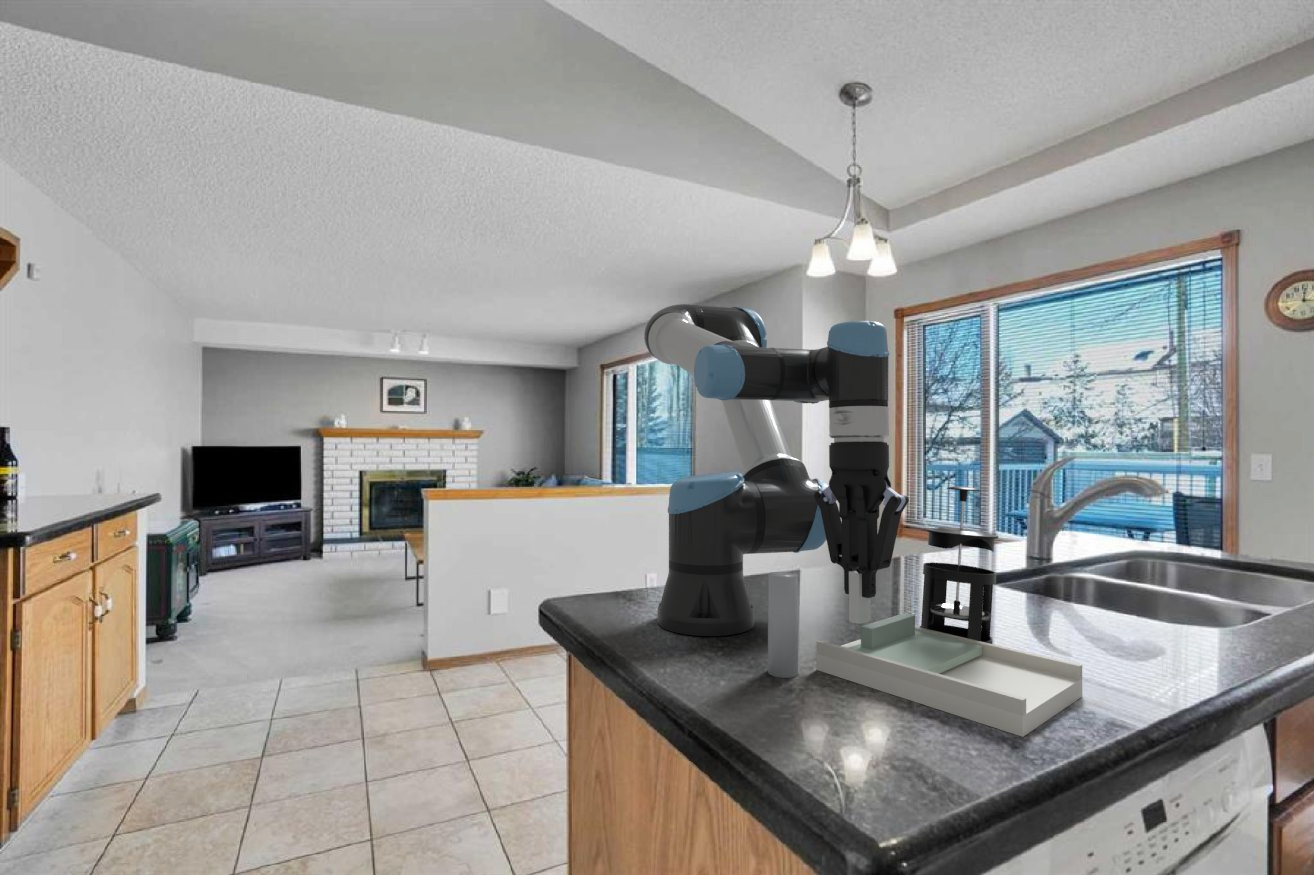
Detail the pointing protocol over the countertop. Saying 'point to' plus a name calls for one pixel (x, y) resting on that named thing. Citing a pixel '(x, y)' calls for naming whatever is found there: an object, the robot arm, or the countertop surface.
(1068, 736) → the countertop surface
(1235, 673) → the countertop surface
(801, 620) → the countertop surface
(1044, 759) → the countertop surface
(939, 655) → the lid
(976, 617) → the french press
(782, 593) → the pin
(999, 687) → the housing
